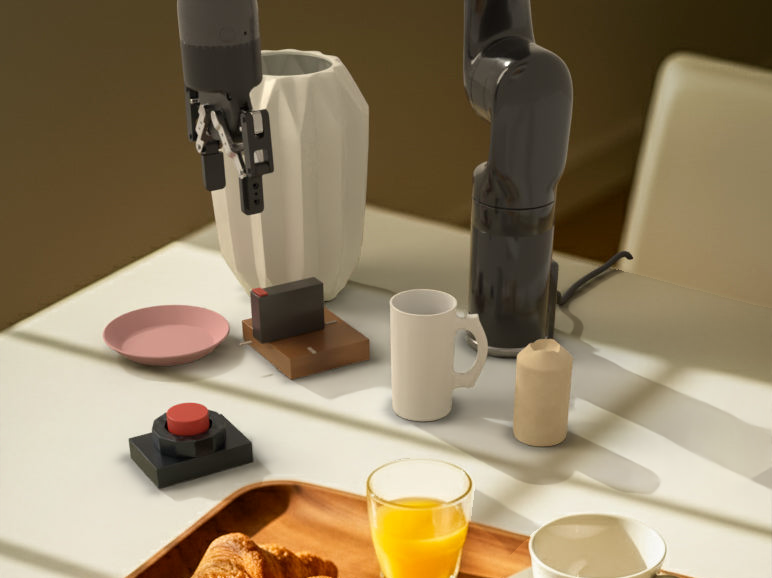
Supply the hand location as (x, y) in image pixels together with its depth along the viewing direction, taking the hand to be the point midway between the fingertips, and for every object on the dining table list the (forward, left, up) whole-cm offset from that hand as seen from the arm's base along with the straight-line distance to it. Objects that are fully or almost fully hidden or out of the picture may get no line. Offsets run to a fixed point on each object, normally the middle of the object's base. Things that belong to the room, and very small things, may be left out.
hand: (233, 200), depth 136 cm
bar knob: (-7, -4, -18) cm, 20 cm away
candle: (-20, +26, -20) cm, 39 cm away
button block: (+12, +13, -20) cm, 27 cm away
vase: (-16, -20, -20) cm, 33 cm away
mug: (-14, +16, -20) cm, 30 cm away
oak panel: (-8, -4, -20) cm, 22 cm away
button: (+12, +13, -17) cm, 24 cm away
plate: (+4, -13, -20) cm, 24 cm away
